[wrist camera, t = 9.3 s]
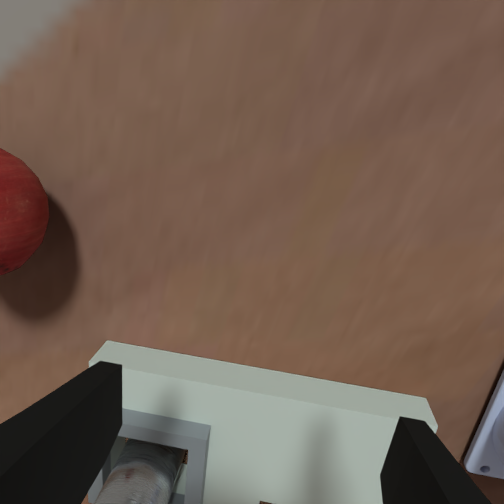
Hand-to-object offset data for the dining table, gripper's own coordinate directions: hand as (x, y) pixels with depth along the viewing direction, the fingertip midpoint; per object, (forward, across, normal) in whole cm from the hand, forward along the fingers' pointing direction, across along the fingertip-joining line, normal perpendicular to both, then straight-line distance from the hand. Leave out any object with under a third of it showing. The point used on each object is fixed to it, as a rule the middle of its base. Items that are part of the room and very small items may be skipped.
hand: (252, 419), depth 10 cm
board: (+10, 0, +14) cm, 17 cm away
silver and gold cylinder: (+10, +6, +12) cm, 17 cm away
